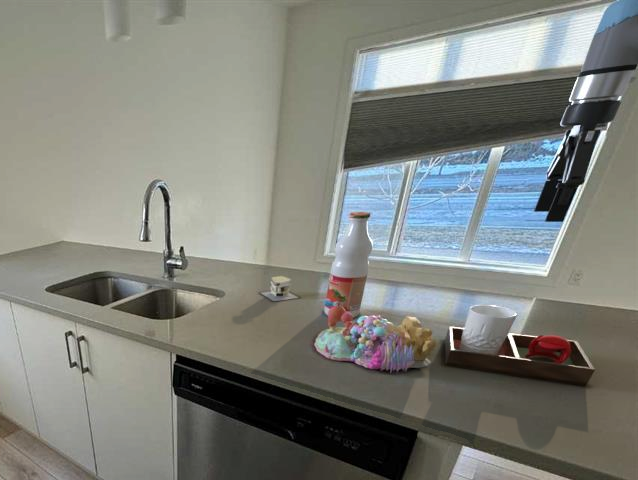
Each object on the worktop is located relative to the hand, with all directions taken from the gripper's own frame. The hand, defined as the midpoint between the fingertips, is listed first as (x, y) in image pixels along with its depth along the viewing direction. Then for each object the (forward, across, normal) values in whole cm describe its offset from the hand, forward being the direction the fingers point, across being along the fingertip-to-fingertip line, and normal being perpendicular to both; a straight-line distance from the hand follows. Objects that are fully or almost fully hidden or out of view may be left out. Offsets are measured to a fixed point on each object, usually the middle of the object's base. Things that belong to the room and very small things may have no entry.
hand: (547, 216), depth 90 cm
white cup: (+26, -21, +6) cm, 34 cm away
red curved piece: (+26, -21, -5) cm, 34 cm away
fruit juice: (+27, -3, +37) cm, 46 cm away
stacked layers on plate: (+27, +8, +58) cm, 64 cm away
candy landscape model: (+27, -26, +27) cm, 46 cm away
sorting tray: (+27, -21, +1) cm, 34 cm away
